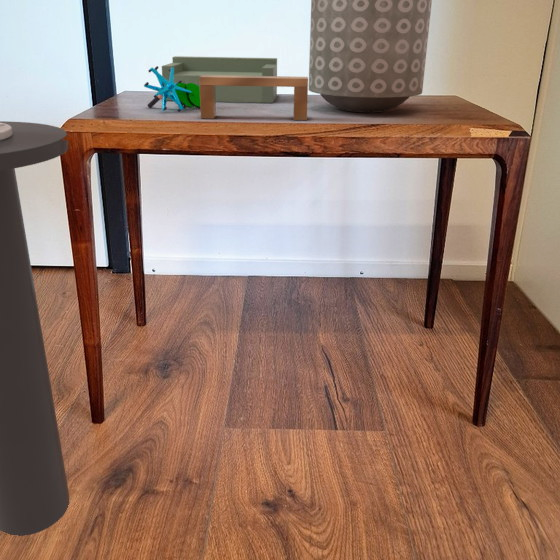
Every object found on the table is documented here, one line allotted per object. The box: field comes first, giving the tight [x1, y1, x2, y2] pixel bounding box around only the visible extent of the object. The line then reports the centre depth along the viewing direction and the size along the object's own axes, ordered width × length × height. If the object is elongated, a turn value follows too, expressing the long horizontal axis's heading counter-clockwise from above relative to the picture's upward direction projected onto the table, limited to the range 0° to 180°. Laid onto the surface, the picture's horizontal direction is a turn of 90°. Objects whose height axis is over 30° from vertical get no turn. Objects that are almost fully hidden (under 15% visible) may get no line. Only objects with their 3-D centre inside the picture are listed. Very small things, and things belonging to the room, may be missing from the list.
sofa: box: [161, 55, 278, 104], centre depth 112 cm, size 12×20×7 cm, turn 87°
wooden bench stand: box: [199, 75, 309, 121], centre depth 90 cm, size 16×3×6 cm, turn 89°
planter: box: [308, 0, 433, 113], centre depth 98 cm, size 19×19×18 cm
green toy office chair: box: [143, 65, 201, 113], centre depth 99 cm, size 12×7×8 cm
